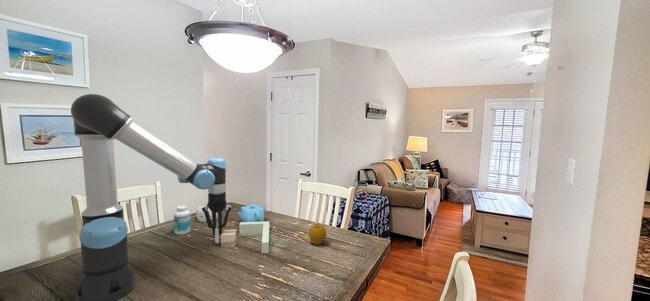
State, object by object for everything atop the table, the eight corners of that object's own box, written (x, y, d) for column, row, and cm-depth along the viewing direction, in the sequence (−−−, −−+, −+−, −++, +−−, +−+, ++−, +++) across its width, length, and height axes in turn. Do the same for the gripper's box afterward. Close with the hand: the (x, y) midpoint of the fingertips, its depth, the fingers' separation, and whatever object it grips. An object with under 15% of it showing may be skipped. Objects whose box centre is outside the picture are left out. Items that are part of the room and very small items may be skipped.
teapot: (232, 223, 152) (232, 204, 151) (262, 217, 163) (262, 199, 161) (242, 233, 139) (242, 211, 138) (274, 226, 150) (274, 206, 149)
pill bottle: (173, 231, 139) (173, 205, 138) (189, 228, 143) (189, 203, 142) (174, 236, 133) (174, 209, 131) (191, 233, 137) (191, 207, 135)
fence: (268, 253, 118) (268, 242, 118) (233, 255, 115) (233, 244, 115) (269, 230, 144) (269, 221, 143) (240, 231, 141) (240, 222, 140)
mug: (193, 222, 151) (193, 209, 151) (201, 217, 160) (201, 204, 159) (214, 223, 151) (213, 210, 150) (220, 218, 159) (220, 205, 158)
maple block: (234, 247, 123) (234, 234, 123) (221, 247, 122) (221, 235, 121) (236, 241, 129) (236, 229, 128) (223, 242, 128) (223, 229, 127)
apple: (329, 244, 129) (330, 226, 128) (315, 249, 123) (316, 230, 123) (319, 238, 135) (319, 221, 135) (305, 242, 130) (305, 224, 129)
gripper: (233, 189, 127) (233, 237, 129) (203, 190, 125) (204, 239, 127) (230, 193, 120) (230, 244, 122) (199, 194, 117) (200, 246, 119)
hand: (217, 241), depth 124 cm, fingers closed
